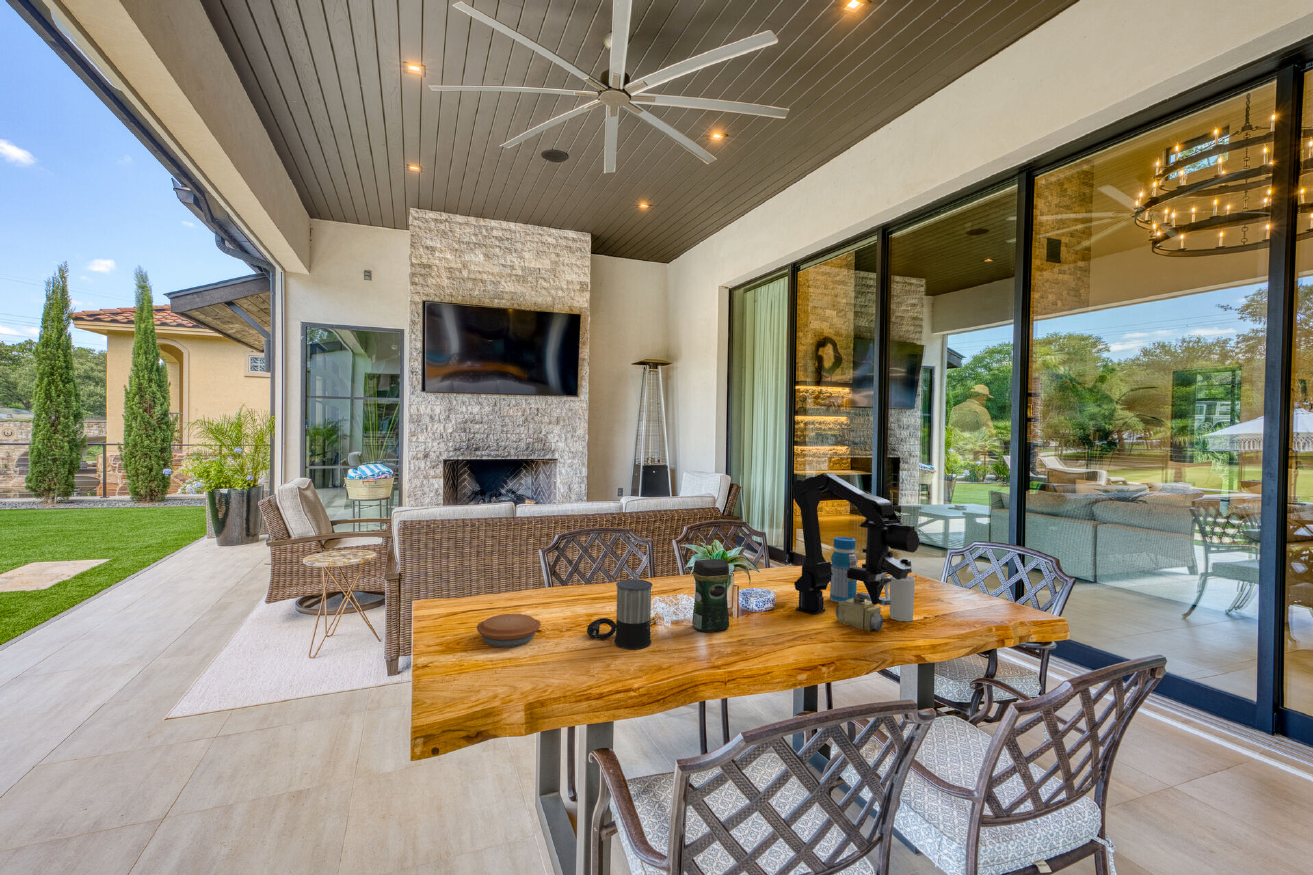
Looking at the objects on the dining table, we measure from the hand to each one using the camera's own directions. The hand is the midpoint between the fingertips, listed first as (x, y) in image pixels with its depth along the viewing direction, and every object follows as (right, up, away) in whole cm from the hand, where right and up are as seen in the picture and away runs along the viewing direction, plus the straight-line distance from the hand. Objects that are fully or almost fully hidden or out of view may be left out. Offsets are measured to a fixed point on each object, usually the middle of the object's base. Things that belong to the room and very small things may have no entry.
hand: (874, 604), depth 154 cm
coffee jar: (-44, -7, +1) cm, 45 cm away
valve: (-2, -8, +7) cm, 10 cm away
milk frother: (-68, -6, -10) cm, 69 cm away
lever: (0, -1, +4) cm, 4 cm away
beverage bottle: (+2, -8, +31) cm, 32 cm away
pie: (-95, -6, -11) cm, 96 cm away
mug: (+12, -8, +15) cm, 21 cm away
